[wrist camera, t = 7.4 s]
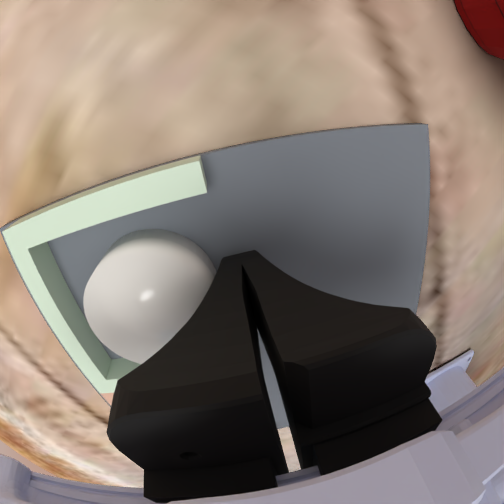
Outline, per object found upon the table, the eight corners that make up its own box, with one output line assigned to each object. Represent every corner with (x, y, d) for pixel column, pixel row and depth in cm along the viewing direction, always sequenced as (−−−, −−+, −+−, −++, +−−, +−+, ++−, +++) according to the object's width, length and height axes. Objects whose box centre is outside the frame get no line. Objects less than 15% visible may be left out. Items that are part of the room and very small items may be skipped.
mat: (393, 382, 18) (396, 388, 18) (151, 440, 17) (150, 447, 17) (419, 123, 10) (427, 124, 10) (6, 223, 9) (-1, 228, 9)
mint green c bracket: (250, 349, 13) (255, 370, 12) (105, 373, 13) (99, 393, 12) (200, 155, 9) (198, 160, 8) (19, 218, 9) (1, 231, 8)
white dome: (222, 330, 12) (226, 363, 11) (116, 335, 12) (106, 366, 10) (215, 224, 10) (217, 247, 9) (86, 234, 10) (66, 258, 8)
